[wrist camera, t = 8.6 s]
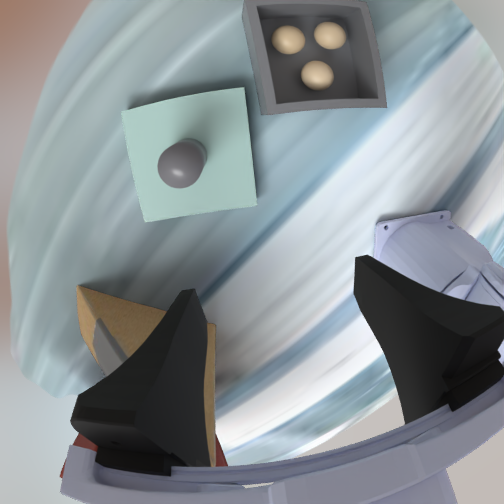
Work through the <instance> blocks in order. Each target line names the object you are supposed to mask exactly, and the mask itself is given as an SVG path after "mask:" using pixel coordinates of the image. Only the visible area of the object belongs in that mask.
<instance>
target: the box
mask: <svg viewBox="0 0 504 504" xmlns="http://www.w3.org/2000/svg"><path fill="white" fill-rule="evenodd" d="M242 20H243V25H244V29H245V34H246V39H247V43H248V48H249V53H250V58H251V63H252V68H253V73H254V78H255V83H256V88H257V94H258V99H259V104H260V110H261V115H273V114H281V113H289V112H298V111H308V110H321V109H336V108H387V102H386V94H385V86H384V79H383V73H382V67H381V61H380V56H379V50H378V46H377V41H376V36H375V32H374V28H373V24H372V20H371V16H370V13H369V9H368V6H367V2H363V1H357V0H244V5H243V12H242Z"/></svg>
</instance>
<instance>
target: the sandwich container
mask: <svg viewBox="0 0 504 504" xmlns="http://www.w3.org/2000/svg"><path fill="white" fill-rule="evenodd" d="M77 310H78V318H79V324H80V330H81V335H82V337H83V339H84V340H85V342H86V344H87V346H88V348H89V349H90V351H91V353H92V355H93V356H94V358H95V360H96V361H97V363H98V365H99V366H100V368H101V369H102V371H103V373H104V374H105V376H106V377H107V376H108V375H109V374H111V373H112V372H113V371H114V370H116V369H117V368H118V367H119V366H120V365H121V364H122V363H124V362H125V361H126V360H127V359H128V358H129V357H130V356H131V355H132V354H133V353H134V352H135V351H136V350H137V349H138V348H139V347H140V346H141V345H142V344H143V342H144V341H145V340H146V339H147V338H148V337H149V335H150V334H151V333H152V331H153V330H154V329H155V327H156V326H157V325H158V324H159V322H160V321H161V320H162V318H163V317H164V315H165V314H166V312H167V311H164V310H160V309H157V308H153V307H149V306H145V305H142V304H138V303H135V302H131V301H127V300H124V299H120V298H117V297H114V296H110V295H107V294H104V293H101V292H97V291H94V290H91V289H88V288H85V287H82V286H79V285H77ZM207 331H208V345H207V356H206V367H205V378H204V408H205V422H206V433H207V442H208V449H209V456H210V462H211V467H215V465H216V438H215V351H216V325H215V324H212V323H208V322H207Z"/></svg>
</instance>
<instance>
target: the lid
mask: <svg viewBox="0 0 504 504" xmlns="http://www.w3.org/2000/svg"><path fill="white" fill-rule="evenodd" d="M121 116H122V122H123V128H124V134H125V139H126V145H127V150H128V155H129V160H130V164H131V169H132V174H133V178H134V182H135V187H136V191H137V195H138V199H139V203H140V207H141V211H142V214H143V218H144V222H151V221H157V220H163V219H169V218H175V217H181V216H188V215H194V214H201V213H208V212H215V211H222V210H229V209H237V208H245V207H253V206H257V198H256V189H255V179H254V170H253V161H252V152H251V143H250V134H249V125H248V116H247V107H246V99H245V90H244V87H242V88H233V89H225V90H217V91H211V92H204V93H198V94H193V95H188V96H182V97H178V98H173V99H168V100H164V101H160V102H156V103H152V104H148V105H144V106H140V107H137V108H133V109H130V110H126V111H123V112H121Z"/></svg>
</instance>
